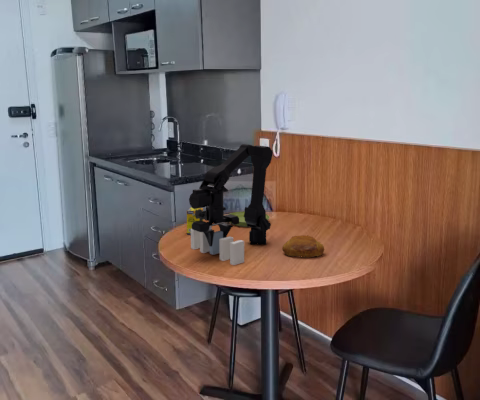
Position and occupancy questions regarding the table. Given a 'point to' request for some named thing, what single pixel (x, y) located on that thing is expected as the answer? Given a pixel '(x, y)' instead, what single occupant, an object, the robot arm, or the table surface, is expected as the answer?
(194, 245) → the domino
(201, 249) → the domino
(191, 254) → the table surface
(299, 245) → the croissant
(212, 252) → the domino
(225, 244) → the domino
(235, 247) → the domino
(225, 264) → the table surface
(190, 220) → the supplement box
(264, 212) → the robot arm
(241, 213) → the saucer
